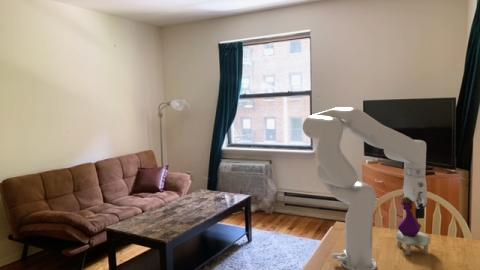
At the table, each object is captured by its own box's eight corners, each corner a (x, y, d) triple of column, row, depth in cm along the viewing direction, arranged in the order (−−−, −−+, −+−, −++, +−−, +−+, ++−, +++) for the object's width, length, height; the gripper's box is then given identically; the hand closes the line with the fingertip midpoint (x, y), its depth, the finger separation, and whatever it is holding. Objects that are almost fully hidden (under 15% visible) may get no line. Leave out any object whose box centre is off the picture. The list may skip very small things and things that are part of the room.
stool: (404, 257, 132) (404, 243, 132) (390, 244, 144) (391, 230, 143) (435, 256, 132) (436, 242, 131) (419, 243, 144) (419, 229, 143)
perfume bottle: (397, 235, 138) (398, 192, 136) (401, 229, 144) (402, 187, 142) (418, 239, 134) (419, 195, 132) (421, 233, 140) (422, 190, 138)
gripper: (436, 176, 126) (434, 221, 128) (413, 166, 143) (412, 206, 145) (416, 177, 126) (414, 222, 128) (395, 167, 143) (394, 206, 145)
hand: (413, 213), depth 136 cm, fingers open, 9 cm apart
